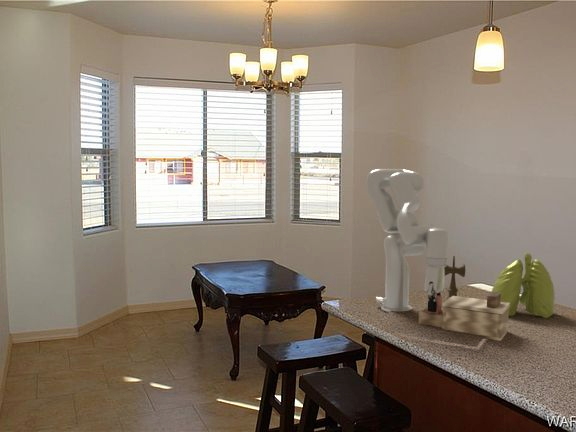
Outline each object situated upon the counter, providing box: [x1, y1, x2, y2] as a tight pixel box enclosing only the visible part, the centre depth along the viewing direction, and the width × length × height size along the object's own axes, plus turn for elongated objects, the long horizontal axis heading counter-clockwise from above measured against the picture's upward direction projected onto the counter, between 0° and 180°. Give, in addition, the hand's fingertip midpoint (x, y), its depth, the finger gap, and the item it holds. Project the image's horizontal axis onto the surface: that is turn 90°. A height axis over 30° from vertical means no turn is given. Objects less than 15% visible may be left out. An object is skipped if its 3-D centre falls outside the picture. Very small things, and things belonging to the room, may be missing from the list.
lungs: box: [490, 253, 556, 319], centre depth 233 cm, size 25×16×24 cm, turn 80°
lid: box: [442, 290, 510, 314], centre depth 206 cm, size 20×13×5 cm, turn 59°
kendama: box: [444, 255, 466, 300], centre depth 253 cm, size 6×10×20 cm, turn 82°
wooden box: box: [418, 306, 510, 342], centre depth 209 cm, size 30×13×9 cm, turn 59°
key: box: [428, 294, 443, 314], centre depth 214 cm, size 4×4×10 cm
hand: (434, 309), depth 214 cm, fingers open, 5 cm apart
